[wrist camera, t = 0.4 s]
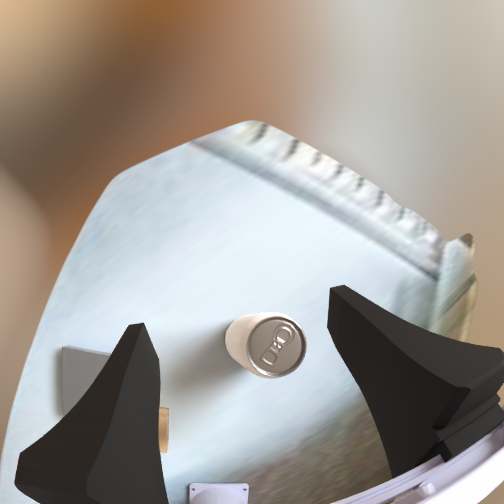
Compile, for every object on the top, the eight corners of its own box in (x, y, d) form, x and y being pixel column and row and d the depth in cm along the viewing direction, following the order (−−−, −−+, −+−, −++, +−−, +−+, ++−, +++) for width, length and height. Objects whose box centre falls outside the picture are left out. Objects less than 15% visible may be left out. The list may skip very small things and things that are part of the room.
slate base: (131, 423, 32) (129, 428, 30) (68, 410, 30) (62, 414, 28) (132, 356, 34) (130, 358, 32) (67, 345, 32) (62, 346, 31)
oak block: (168, 439, 33) (166, 452, 28) (134, 434, 32) (128, 447, 28) (168, 408, 34) (166, 418, 29) (133, 403, 33) (127, 413, 29)
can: (283, 331, 39) (323, 334, 27) (257, 373, 37) (287, 393, 26) (242, 304, 39) (266, 297, 27) (214, 347, 37) (227, 359, 25)
